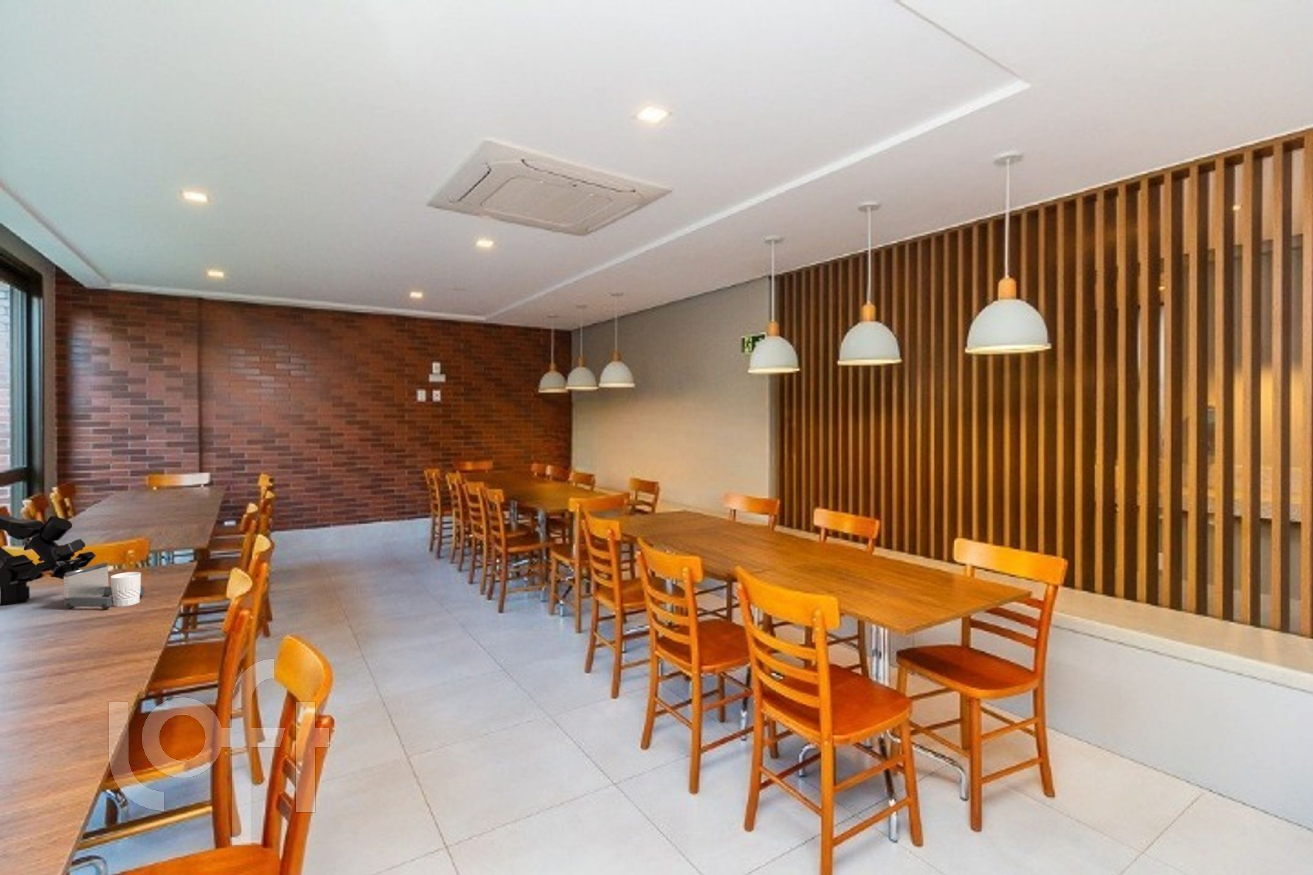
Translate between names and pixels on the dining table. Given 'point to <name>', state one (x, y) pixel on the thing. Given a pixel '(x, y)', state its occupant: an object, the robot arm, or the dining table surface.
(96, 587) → the silver boxy shape
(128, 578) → the white cup
